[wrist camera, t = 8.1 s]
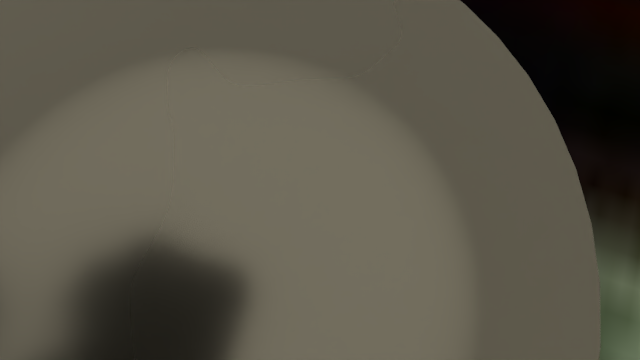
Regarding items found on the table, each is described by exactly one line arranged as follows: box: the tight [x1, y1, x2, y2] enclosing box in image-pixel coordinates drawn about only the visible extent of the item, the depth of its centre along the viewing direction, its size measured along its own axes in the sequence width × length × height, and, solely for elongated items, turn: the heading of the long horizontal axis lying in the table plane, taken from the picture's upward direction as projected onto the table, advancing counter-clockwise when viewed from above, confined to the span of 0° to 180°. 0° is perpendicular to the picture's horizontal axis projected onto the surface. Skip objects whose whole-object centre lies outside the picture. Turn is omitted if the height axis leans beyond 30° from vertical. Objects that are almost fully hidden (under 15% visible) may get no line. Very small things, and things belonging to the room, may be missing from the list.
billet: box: [0, 0, 600, 360], centre depth 9 cm, size 5×5×13 cm
